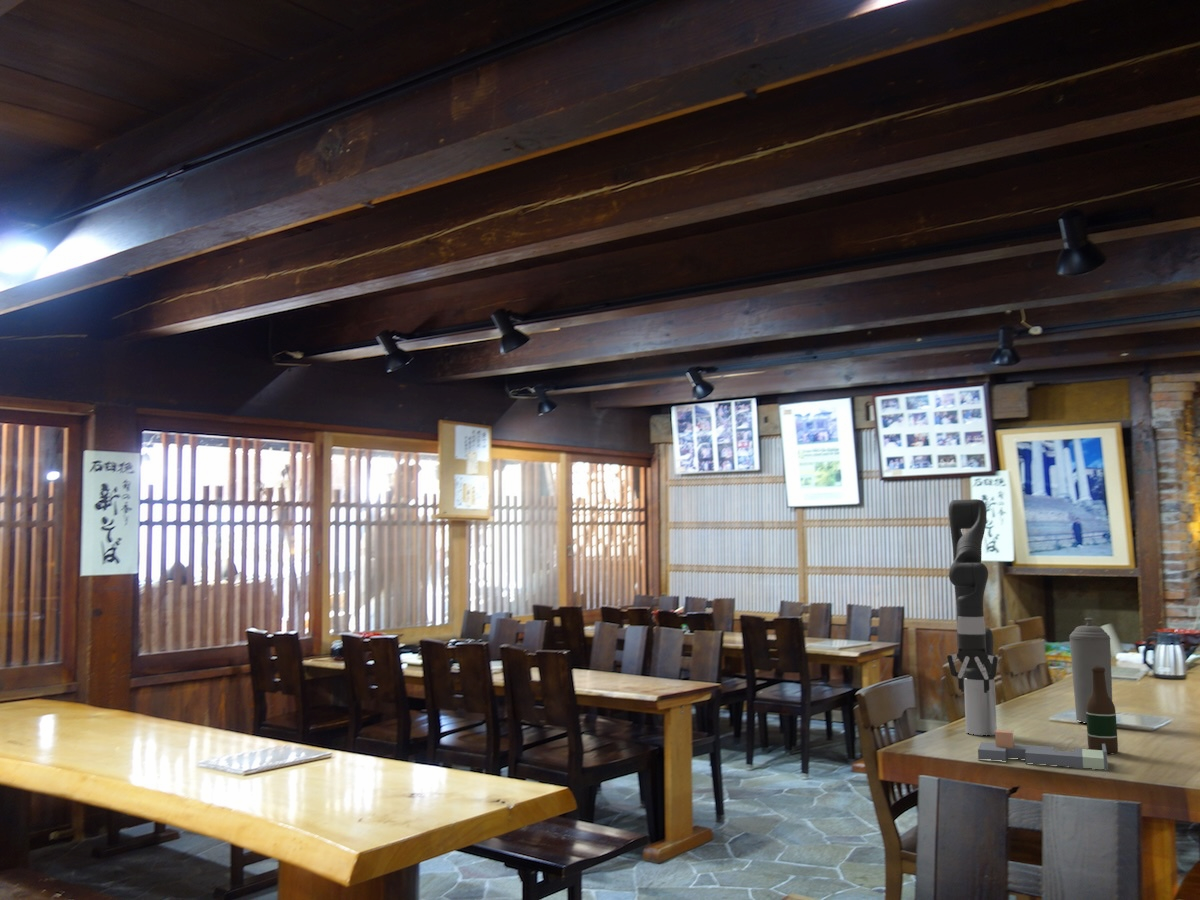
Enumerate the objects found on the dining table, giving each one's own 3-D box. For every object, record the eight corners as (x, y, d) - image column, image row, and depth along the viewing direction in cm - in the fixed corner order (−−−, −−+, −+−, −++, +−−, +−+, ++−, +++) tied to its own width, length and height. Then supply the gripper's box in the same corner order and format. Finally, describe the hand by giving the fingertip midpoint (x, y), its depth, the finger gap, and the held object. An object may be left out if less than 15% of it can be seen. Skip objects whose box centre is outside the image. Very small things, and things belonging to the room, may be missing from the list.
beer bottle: (1124, 753, 278) (1119, 667, 281) (1099, 754, 277) (1094, 668, 280) (1106, 748, 286) (1101, 665, 289) (1082, 749, 285) (1077, 665, 287)
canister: (1082, 718, 338) (1076, 616, 342) (1122, 723, 329) (1115, 617, 333) (1067, 723, 330) (1061, 618, 334) (1107, 727, 321) (1100, 619, 324)
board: (981, 752, 281) (981, 735, 281) (1106, 761, 267) (1105, 743, 268) (978, 760, 270) (977, 742, 271) (1107, 770, 257) (1106, 751, 257)
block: (996, 743, 278) (996, 729, 279) (1014, 744, 276) (1013, 730, 277) (995, 746, 274) (995, 731, 275) (1013, 747, 272) (1012, 733, 273)
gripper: (999, 632, 282) (1002, 691, 280) (946, 630, 288) (949, 689, 287) (997, 633, 276) (1000, 695, 274) (943, 632, 282) (946, 692, 280)
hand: (974, 691), depth 280 cm, fingers open, 5 cm apart
